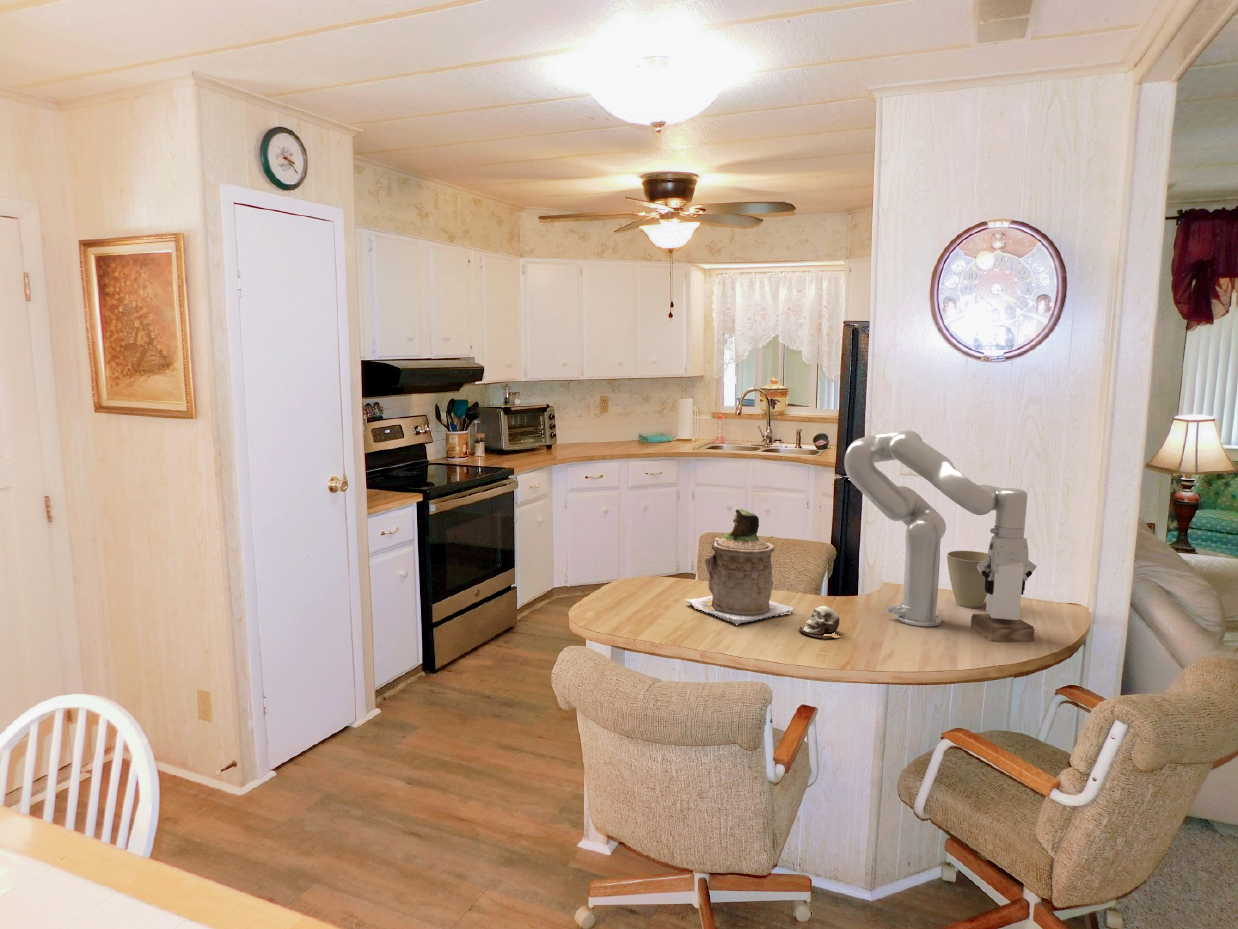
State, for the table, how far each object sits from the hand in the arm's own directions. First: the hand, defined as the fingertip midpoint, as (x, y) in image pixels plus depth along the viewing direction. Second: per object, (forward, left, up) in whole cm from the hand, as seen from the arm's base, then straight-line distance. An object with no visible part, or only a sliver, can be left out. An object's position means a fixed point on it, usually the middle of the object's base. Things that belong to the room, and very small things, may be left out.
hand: (1004, 593), depth 233 cm
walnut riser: (0, 0, -12) cm, 12 cm away
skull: (-52, +1, -12) cm, 53 cm away
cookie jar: (-71, +22, -12) cm, 75 cm away
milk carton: (0, 0, -7) cm, 7 cm away
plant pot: (+4, +28, -12) cm, 31 cm away
